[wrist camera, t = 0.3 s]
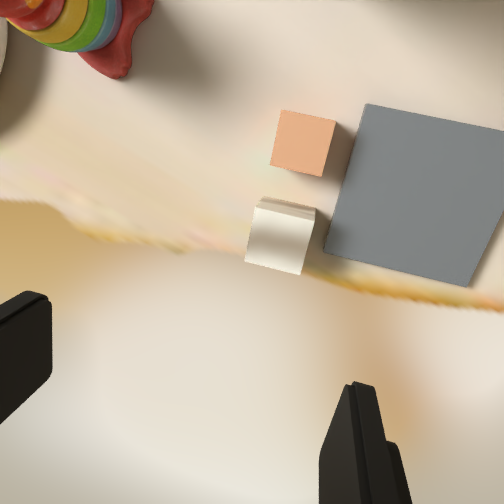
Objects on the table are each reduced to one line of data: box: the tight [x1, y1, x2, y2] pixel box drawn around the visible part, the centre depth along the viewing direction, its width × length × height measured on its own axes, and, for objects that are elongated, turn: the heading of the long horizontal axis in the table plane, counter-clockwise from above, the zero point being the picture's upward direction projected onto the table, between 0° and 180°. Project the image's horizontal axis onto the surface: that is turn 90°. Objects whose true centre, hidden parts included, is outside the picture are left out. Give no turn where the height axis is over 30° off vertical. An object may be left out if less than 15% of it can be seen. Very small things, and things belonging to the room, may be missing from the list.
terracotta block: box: [270, 110, 336, 177], centre depth 38 cm, size 6×6×5 cm
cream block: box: [245, 196, 315, 275], centre depth 42 cm, size 6×6×6 cm
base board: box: [323, 104, 504, 287], centre depth 40 cm, size 17×17×2 cm
